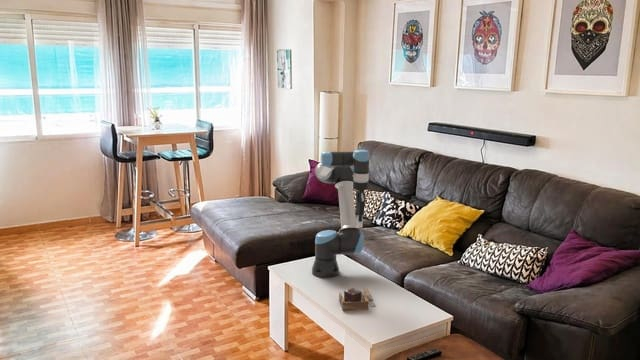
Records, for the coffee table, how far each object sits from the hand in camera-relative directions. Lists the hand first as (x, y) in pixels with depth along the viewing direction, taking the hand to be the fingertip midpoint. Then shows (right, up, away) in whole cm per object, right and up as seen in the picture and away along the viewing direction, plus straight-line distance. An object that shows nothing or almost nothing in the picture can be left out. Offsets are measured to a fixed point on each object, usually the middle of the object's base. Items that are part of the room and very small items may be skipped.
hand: (359, 227), depth 260 cm
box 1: (-4, -36, -15) cm, 39 cm away
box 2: (-4, -36, -14) cm, 39 cm away
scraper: (+4, -35, -7) cm, 35 cm away
